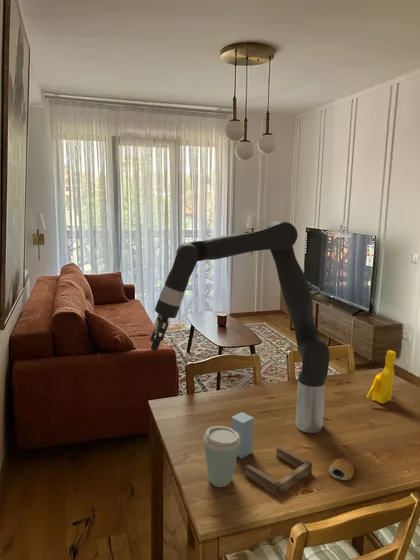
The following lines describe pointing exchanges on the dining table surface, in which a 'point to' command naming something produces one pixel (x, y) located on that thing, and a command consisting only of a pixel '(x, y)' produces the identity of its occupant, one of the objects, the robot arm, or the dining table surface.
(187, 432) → the dining table surface
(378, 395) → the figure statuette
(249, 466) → the walnut bay
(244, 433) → the slate block
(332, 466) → the pastry
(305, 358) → the robot arm
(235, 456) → the disposable coffee cup
